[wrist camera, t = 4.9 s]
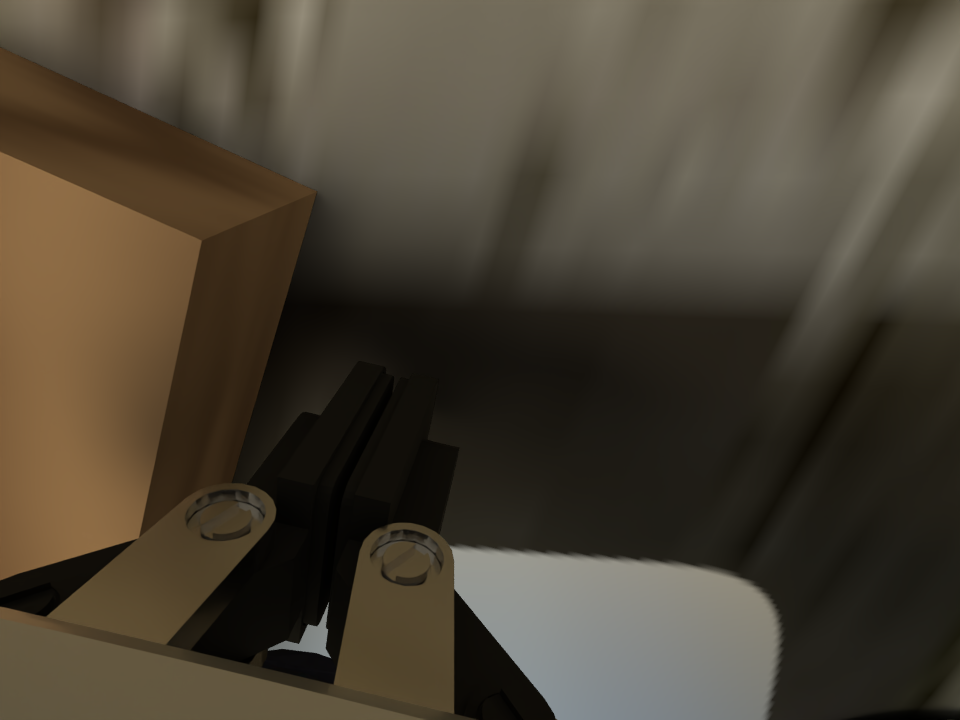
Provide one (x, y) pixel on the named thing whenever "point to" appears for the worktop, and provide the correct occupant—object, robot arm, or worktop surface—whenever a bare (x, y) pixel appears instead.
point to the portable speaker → (302, 664)
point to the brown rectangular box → (125, 313)
